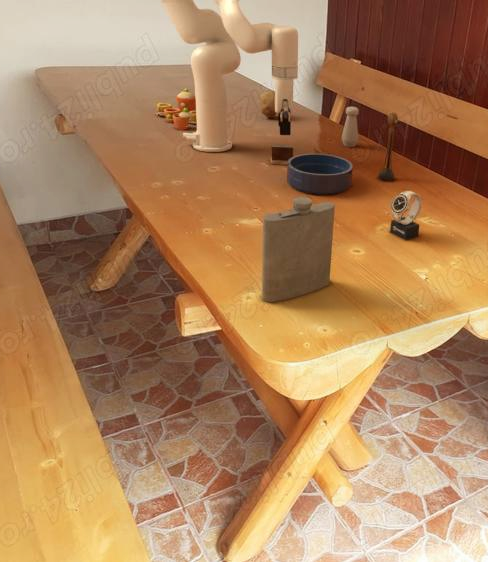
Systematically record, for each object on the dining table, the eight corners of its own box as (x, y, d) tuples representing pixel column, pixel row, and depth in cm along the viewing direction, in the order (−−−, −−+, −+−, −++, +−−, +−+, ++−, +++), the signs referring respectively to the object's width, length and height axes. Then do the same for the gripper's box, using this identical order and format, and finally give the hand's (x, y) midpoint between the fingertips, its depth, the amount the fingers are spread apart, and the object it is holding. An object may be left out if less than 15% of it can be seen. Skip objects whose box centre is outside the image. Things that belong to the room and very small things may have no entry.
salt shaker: (356, 148, 218) (359, 110, 211) (339, 146, 218) (342, 108, 212) (359, 144, 223) (362, 106, 216) (343, 141, 223) (345, 104, 217)
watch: (384, 233, 158) (388, 191, 153) (407, 226, 163) (412, 186, 158) (399, 242, 155) (405, 199, 149) (423, 234, 159) (429, 193, 154)
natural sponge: (284, 115, 248) (285, 89, 243) (280, 121, 240) (281, 95, 236) (261, 113, 249) (262, 87, 244) (256, 119, 241) (257, 92, 236)
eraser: (270, 164, 198) (271, 147, 195) (270, 160, 201) (270, 143, 198) (293, 165, 199) (294, 147, 196) (292, 160, 202) (293, 143, 199)
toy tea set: (151, 112, 239) (149, 86, 234) (192, 109, 246) (190, 84, 242) (173, 132, 220) (171, 103, 215) (216, 128, 227) (215, 100, 222)
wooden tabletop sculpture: (398, 182, 192) (406, 115, 182) (384, 183, 190) (391, 116, 180) (389, 175, 196) (396, 110, 187) (375, 176, 194) (382, 110, 185)
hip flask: (323, 277, 137) (329, 188, 127) (335, 285, 134) (341, 195, 124) (259, 296, 128) (259, 203, 118) (270, 306, 125) (271, 211, 115)
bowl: (288, 195, 176) (289, 174, 173) (285, 172, 192) (286, 152, 190) (355, 196, 179) (356, 176, 176) (346, 173, 195) (348, 154, 192)
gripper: (270, 66, 194) (271, 122, 202) (272, 77, 179) (272, 138, 187) (295, 67, 195) (295, 123, 203) (299, 78, 180) (298, 138, 188)
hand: (284, 130), depth 195 cm, fingers open, 9 cm apart
